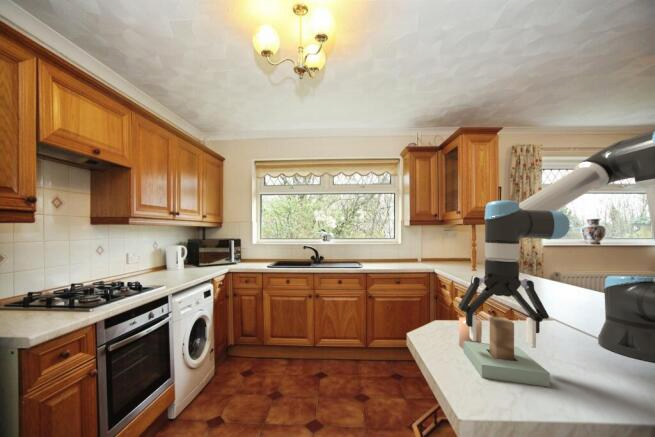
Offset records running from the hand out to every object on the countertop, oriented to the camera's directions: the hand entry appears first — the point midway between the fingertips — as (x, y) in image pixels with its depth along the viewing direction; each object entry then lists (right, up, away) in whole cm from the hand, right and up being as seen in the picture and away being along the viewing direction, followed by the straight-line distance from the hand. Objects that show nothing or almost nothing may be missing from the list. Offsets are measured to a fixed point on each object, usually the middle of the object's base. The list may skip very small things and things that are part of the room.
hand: (501, 342), depth 68 cm
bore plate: (0, -6, 0) cm, 6 cm away
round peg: (-2, -7, +11) cm, 13 cm away
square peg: (0, -6, 0) cm, 6 cm away
